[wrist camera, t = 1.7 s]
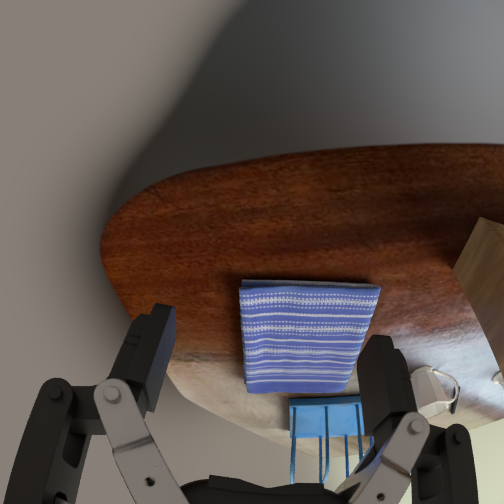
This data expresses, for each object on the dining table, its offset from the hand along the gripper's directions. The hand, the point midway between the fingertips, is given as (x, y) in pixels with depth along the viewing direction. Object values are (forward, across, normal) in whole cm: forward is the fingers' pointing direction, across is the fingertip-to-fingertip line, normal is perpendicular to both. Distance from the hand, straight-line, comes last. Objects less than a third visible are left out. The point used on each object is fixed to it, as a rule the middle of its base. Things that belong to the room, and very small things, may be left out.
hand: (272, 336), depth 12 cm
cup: (+20, -33, +31) cm, 50 cm away
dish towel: (+20, -8, +25) cm, 33 cm away
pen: (+21, -49, +43) cm, 68 cm away
